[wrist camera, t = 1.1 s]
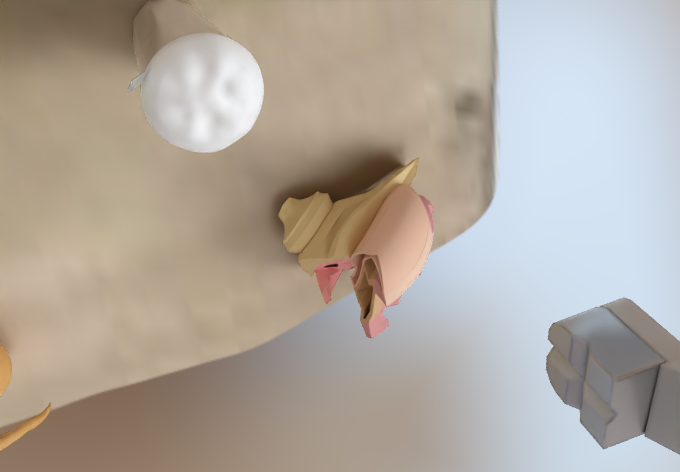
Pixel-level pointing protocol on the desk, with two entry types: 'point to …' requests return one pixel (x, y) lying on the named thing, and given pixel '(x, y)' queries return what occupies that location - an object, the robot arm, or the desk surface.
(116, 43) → the desk surface
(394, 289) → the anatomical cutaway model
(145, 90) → the milkshake
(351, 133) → the desk surface
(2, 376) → the figurine
